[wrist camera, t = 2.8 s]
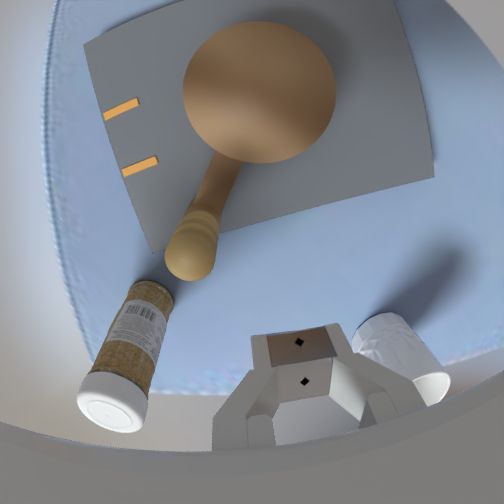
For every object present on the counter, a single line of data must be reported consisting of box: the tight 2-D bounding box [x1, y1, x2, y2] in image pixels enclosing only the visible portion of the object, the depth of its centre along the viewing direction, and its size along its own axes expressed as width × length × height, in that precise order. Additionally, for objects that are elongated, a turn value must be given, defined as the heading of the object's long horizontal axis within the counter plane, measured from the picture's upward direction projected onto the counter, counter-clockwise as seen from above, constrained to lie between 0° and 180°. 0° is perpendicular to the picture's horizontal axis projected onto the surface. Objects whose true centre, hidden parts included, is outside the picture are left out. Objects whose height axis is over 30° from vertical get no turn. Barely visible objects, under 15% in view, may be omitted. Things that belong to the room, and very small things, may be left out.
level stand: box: [83, 0, 435, 253], centre depth 19 cm, size 24×18×2 cm
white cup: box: [352, 312, 451, 407], centre depth 26 cm, size 8×8×10 cm
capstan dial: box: [165, 21, 336, 281], centre depth 15 cm, size 15×9×8 cm, turn 156°
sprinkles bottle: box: [77, 281, 173, 433], centre depth 21 cm, size 5×5×14 cm
